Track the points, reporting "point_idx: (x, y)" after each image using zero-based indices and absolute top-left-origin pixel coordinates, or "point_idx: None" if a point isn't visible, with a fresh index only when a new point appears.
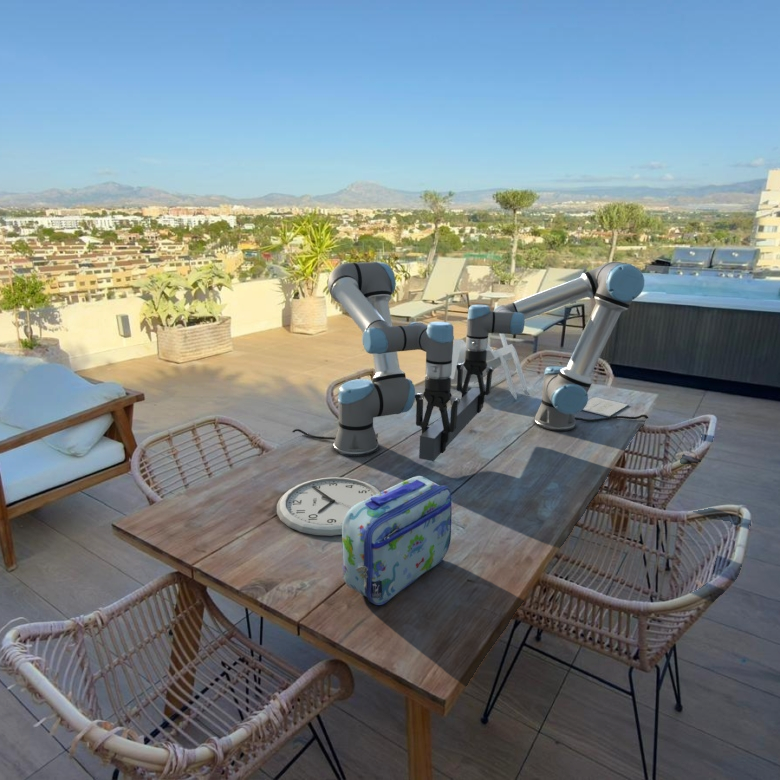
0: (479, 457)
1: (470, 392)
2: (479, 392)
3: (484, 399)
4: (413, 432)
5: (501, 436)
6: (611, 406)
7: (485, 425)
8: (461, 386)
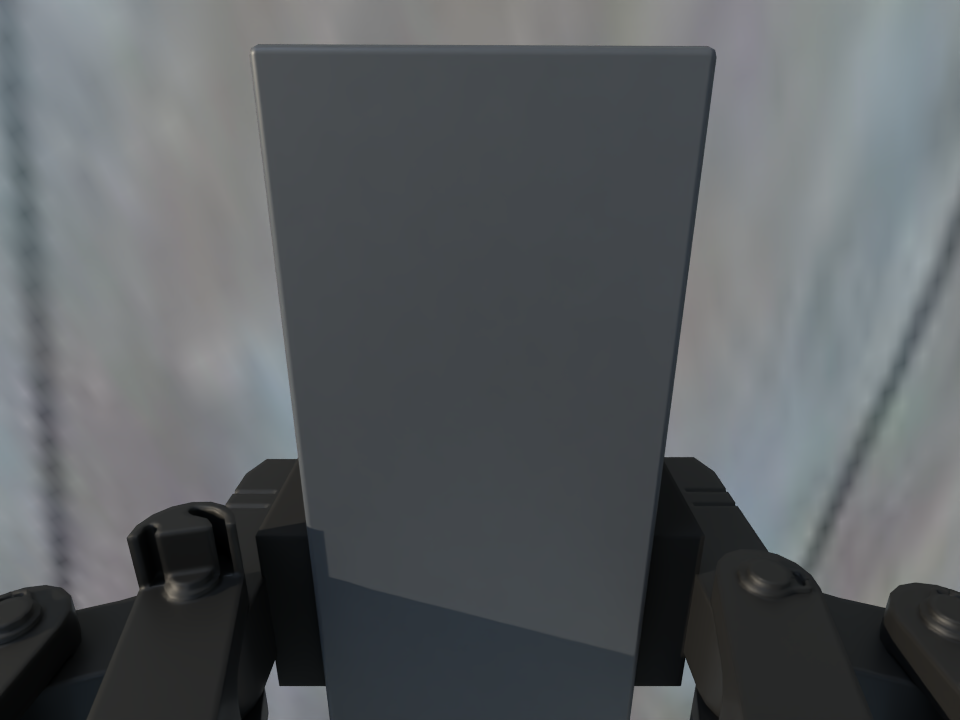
0: (661, 702)
1: (389, 598)
2: (619, 498)
3: (735, 510)
4: (39, 526)
5: (789, 271)
6: None
7: (577, 13)
8: (25, 701)
